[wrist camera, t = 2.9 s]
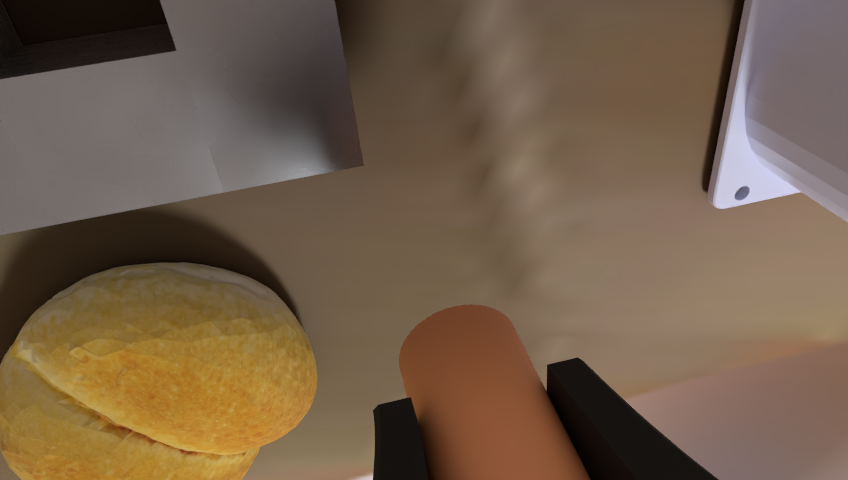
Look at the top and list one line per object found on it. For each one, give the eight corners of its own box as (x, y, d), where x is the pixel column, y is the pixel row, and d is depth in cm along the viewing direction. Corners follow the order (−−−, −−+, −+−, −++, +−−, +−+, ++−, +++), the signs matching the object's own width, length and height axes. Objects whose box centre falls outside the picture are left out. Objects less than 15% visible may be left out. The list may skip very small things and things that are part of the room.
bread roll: (358, 325, 20) (377, 418, 17) (199, 478, 23) (188, 585, 19) (124, 189, 16) (90, 279, 13) (-43, 395, 18) (-108, 515, 15)
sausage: (515, 293, 12) (678, 589, 8) (516, 380, 14) (652, 675, 9) (391, 320, 12) (475, 647, 7) (406, 406, 14) (484, 726, 9)
